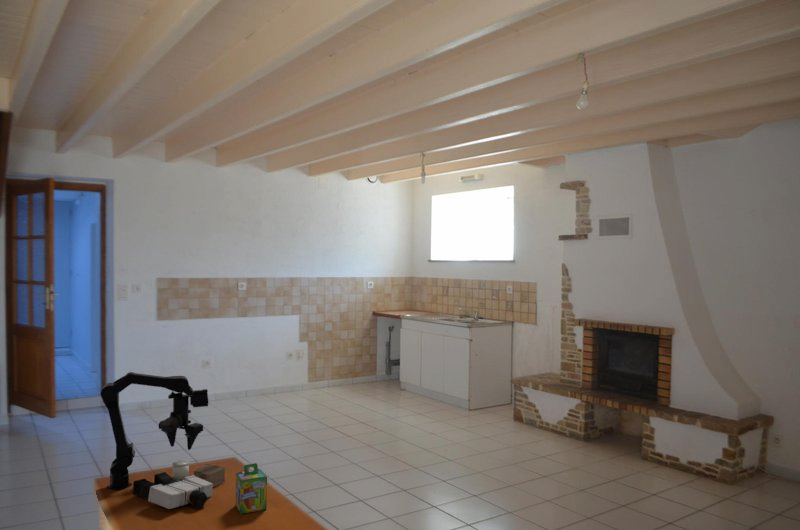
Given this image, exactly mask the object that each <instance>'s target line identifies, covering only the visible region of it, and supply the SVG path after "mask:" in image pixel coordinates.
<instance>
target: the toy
mask: <svg viewBox="0 0 800 530" xmlns="http://www.w3.org/2000/svg"><path fill="white" fill-rule="evenodd" d="M153 477H154V479H153V482H152V481H149V480H147V479H146V478H140V479H137V480H134V481H133V483H132V495H134V496H139V497H140V498H141V497H142V498H143V499H146V500H147V501H148V503H151V504H155V505H157V506H160V507H163V508H165V509H167V510H172V509H175V508H179V507H183V506H187V505H191V506H193V507H194V508H195V509H197V510H198V509H202V508H203V507H204V506H205V504H206V503H207V499H208V498H211V497H212V496H213V484H212V483H210V482H208V481H205V480H203V479H201V478H198V477H196V476H195V475H194V474H193V475H189V476H188V477H185V478H184V480H174V479H173V476H170V474H168V473H167V472H166V471H163V472H159V473H155V474H154V476H153Z"/></svg>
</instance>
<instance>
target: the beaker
mask: <svg viewBox="0 0 800 530" xmlns="http://www.w3.org/2000/svg"><path fill="white" fill-rule="evenodd" d="M171 466H172V478H173V479H174V480H183V479H184V478H185V477H188V476H190V460H186V459H181V460H176V461H173V462H172V465H171Z"/></svg>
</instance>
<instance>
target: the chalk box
mask: <svg viewBox="0 0 800 530" xmlns="http://www.w3.org/2000/svg"><path fill="white" fill-rule="evenodd" d="M249 468H253V469H252V470H250V469H249ZM267 496H268V476H267V475H266V474H265V472H264V471H263V470H262V469H259V467H258V463H257V462H255V463H249V464H245V465H244V467H243V471H238V472H235V506H236V508H237V510H238V512H239V513H240V514H241V515H243V514H248V513H253V512H259V511H260V512H261V511H265V510H267V506H268V505H267V502H268V501H267V499H268V498H267Z"/></svg>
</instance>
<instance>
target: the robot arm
mask: <svg viewBox="0 0 800 530" xmlns="http://www.w3.org/2000/svg"><path fill="white" fill-rule="evenodd" d="M131 385H140V386H141V385H142V386H149V387H156V388H158V387H159V388H164V389H167V390H168V391H169V390H170V391H171V393H170V394H168V399H173V400H172V403H173V404H172V408H173V409H172V411H171V412H170V413H169V417H167V418H165V419H164V420H161V421H159V423H158V429H159V430H160V431H161V432H163V433H164V434H166V437H167V439H168V442H169V445H170V447H172V448H173V447H174V446H175V442H176V439H177V431H178V429H180V430H184V432H185V433H184V436H185V437H186V439H187V440H186V442H187V443H186V445H187V450H189V451H190V450H191V449H192V447H193V446H194V443H195V441H196V439H197V437H198V435H199V434H201V432H204V425H203V424H202V423H200V422H199V423H197V422H193V423H192V420H191V419H189V414H191V413H192V410H191V409H190V408H189V405H190V406H192V407H193V408H194V409H195V408H202V407H203V408H205V407H209V395H208V394H209V393H208V389H207V388H205V389H204V388H203V389H195V390H193V387H191V386H190V383H189V379H188V377H186V376H185V375H171V376H161V375H152V374H144V373H139V372H137V373H136V372H133V371H129V372H127V373H126V374H125V375H123V376H121V377H120V378H118V379H116V380H115V381H113V382H108V383H106V384H105V385H104V386H103V387H102V389H101V391H100V397H101V399H102V402H103V404H104V406H105V408H107V410H108V415H109V419H110V423H111V428H112V432H113V437H114V442H115V459H114V460H113V461H111V465H110V468H109V471H110V472H109V485H106V488H107V489H111V490H115V491H119V490H122V489H125V488H126V487H130V486H133V483H131V482H130V474H129V469H128V468H129V467H130V466H132V464H133V462H134V458H135V457H136V451H135V449H134V442H131V443H129V441H128V439H127V438H128V437H127V436H126V431H125V426H124V422H123V421H124V420H123V417H122V413H121V412H122V411H121V408H120V393H122V391H124V390H125V389H126V388H128V387H129V386H131ZM189 402H190V403H189Z"/></svg>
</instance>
